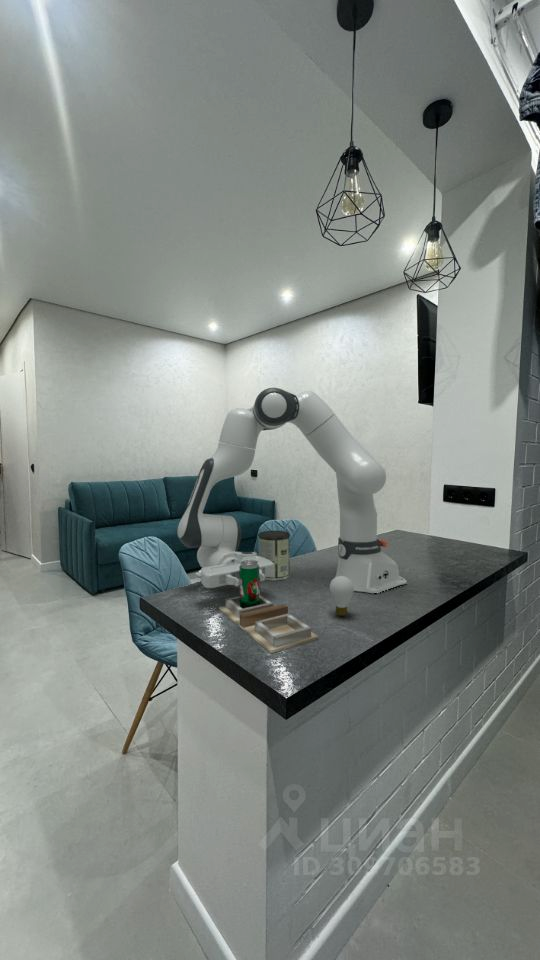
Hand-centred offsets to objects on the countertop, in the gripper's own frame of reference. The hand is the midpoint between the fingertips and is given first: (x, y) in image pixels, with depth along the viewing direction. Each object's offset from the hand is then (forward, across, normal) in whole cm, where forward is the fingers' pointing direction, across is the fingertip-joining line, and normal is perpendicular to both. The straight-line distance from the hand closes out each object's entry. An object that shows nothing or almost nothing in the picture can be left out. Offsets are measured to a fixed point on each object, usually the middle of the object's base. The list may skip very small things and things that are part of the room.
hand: (251, 580), depth 99 cm
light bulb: (+13, +18, +9) cm, 24 cm away
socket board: (+7, 0, +8) cm, 11 cm away
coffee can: (-23, +20, +9) cm, 32 cm away
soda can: (-1, 0, +8) cm, 8 cm away
